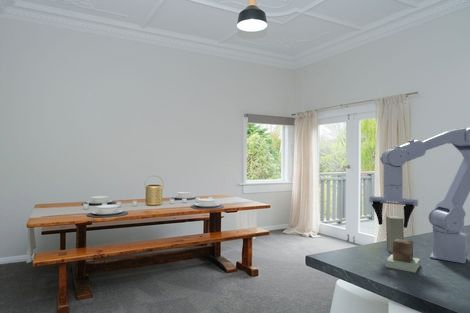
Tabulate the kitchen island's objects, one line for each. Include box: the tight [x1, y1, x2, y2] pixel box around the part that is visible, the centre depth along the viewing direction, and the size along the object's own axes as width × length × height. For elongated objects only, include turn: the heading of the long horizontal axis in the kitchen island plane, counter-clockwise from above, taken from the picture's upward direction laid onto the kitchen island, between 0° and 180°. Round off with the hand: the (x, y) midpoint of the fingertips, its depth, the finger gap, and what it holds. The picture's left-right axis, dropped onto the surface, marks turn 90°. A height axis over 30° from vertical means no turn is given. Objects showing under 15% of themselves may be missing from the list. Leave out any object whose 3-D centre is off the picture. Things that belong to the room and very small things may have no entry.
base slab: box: [385, 253, 421, 273], centre depth 99 cm, size 8×8×2 cm
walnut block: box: [392, 239, 414, 263], centre depth 99 cm, size 5×5×6 cm
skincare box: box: [385, 215, 405, 254], centre depth 115 cm, size 6×4×12 cm
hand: (392, 225), depth 108 cm, fingers open, 7 cm apart
